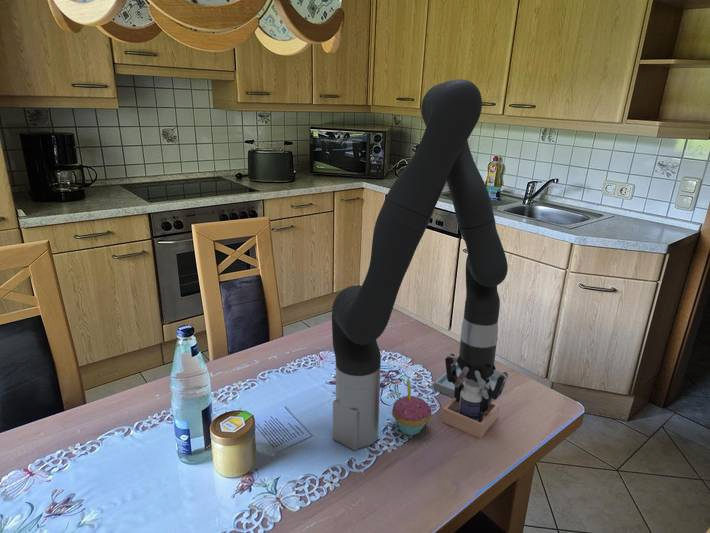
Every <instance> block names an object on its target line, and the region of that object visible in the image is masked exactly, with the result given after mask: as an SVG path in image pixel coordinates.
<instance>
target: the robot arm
mask: <svg viewBox="0 0 710 533" xmlns="http://www.w3.org/2000/svg"><path fill="white" fill-rule="evenodd" d="M482 109H483V98H482V94H481V91H480V89H479V88H478V86H477V85H476V84H475V83H474V82H472V81H470V80H467V79H463V78H462V79H459V78H457V79H452V80H448V81H445V82H441V83H438V84H436V85H433V86H432V87H431V88H429V89H428V90H427V92H425V94H424V96H423V98H422V101H421V105H420V112H421V117H422V120H423V122H424V126H425V130H424V132H423V135H422V138H421V141H420V143H419V145H418V147H417V149H416V150H415V152H414V154H413V156H412V157H411V159H410V160H409V162H408V163H407V164H406V165H405V167H403V169H402V171H401V172H400V174H398V176H397V177H396V180H394V182H393V183H392V185H391V186H390V188H389V190H388V192H387V194H386V197H385V199H384V201H383V204H382V205H381V208H380V210H379V213H378V214H377V217H376V220H375V224H374V228H373V233H372V242H371V249H370V250H371V251H370V252H371V253H370V260H369V261H370V262H369V267H368V269H367V272H366V275H365V278H364V280H363V282H362V285H350V286H347V287H345V288H343V289H342V290H340V291H339V292H338V293H337V295H336V297H335V299H334V301H333V303H332V307H331V308H332V309H331V332H332V334H331V336H332V348H333V353H334V356H335V399H334V400H332V439H333V440H335V441H336V442H339V443H340V444H342V445H343V446H345V447H347V448H349V449H351V450H353V451H357V450H358V449H362V448H366V447H369V446H371V445H373V444H374V443H375V442H376V441H377V440H378V438H379V430H380V429H379V428H380V426H379V424H380V422H379V421H380V396H381V394H380V391H381V368H382V367H381V366H382V365H381V364H382V363H381V362H382V361H381V360H382V359H381V358H382V354H381V350H380V347H379V344H378V342H377V340H378V338H380V337H381V335H382V334H383V333H384V332H385V330H386V329H387V326H388V324H389V321H390V318H391V315H392V312H393V309H394V306H395V303H396V300H397V297H398V294H399V290H400V288H401V286H402V283H403V280H404V278H405V275H406V273H407V271H408V269H409V267H410V265H411V262H412V260H413V257H414V255H415V252H416V250H417V248H418V246H419V245H420V242H421V240H422V238H423V236H424V234H425V232H426V230H427V227H428V225H429V222H430V221H431V218H432V216H433V213H434V211H435V208H436V205H437V203H438V201H439V199H440V197H441V195H442V193H443V191H444V188H445V185H446V183H447V187H448V190H449V193H450V196H451V200H452V201H451V202H452V204H453V208H454V214H455V217H456V221H457V222H456V223H457V226H458V229H459V232H460V235H461V237H462V239H463V241H464V244H465V247H466V250H467V255H466V261H465V288H466V289H465V290H466V291H465V292H466V294H465V301H464V302H465V303H464V313H463V319H462V323H461V329H460V330H461V332H460V342H459V352H458V353H459V356H456V355H455V354H453V353H450V354H449V355H447V357H445V359H444V361H445V372H447V380H448V382H452V383H453V384H454V386H455V392H454V397H455V398H456V401H457V402H460V393H461V390H462V388H464V384H463V382H464V381H465V379H469V380H473V381H475V382H477V383H478V384H479V387H480V389H481V390H482V393H483V396H484V397H483V398H482V405H481V411H482V412H485V411H487V410H488V409H489V408H490V407H491V402H492V399H493V400H494V401H496V400H498V398H499V397H500V396H501V394H502V393H503V390H504V388H505V385H506V383H507V379H508V376H509V374H508V372H506V371H504V372H502V371H499V370H498V369H496V366H495V360H496V352H497V344H498V340H499V317H500V316H499V315H500V307H501V299H500V295H499V292H498V286H499V285H501V283H503V282H504V281H505V279H506V278H507V276H508V271H509V269H508V268H509V265H508V259H507V256H506V252H505V250H504V247H503V244H502V241H501V239H500V236H499V235H500V234H499V232H498V229H497V225H496V218H495V214H494V209H493V206H492V201H491V197H490V193H489V191H488V188H487V186H486V183H485V181H484V178H483V176H482V175H481V173H480V171H479V168H478V167H477V164H476V162H475V161H474V157H473V155H472V152H471V149H470V145H469V141H468V139H469V138H470V137H471V135H472V132H473V131H474V130H475V128H476V126H477V123H478V122H479V120H480V117H481V114H482ZM457 363H458V365H459V367H460V369H461V371H462V372H461V373H460V375H459V377H457V371H456V364H457ZM492 375H494V377H495V382H497V383H496V385H495V388H494V390H493V389H492V386H491V378H490V376H492ZM491 398H492V399H491Z"/></svg>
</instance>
